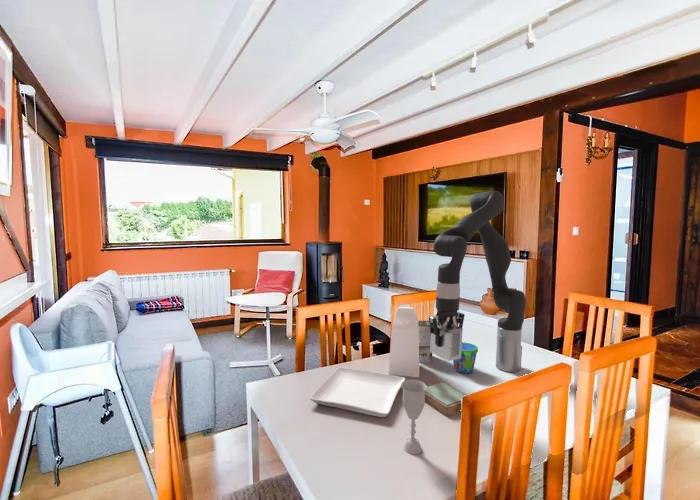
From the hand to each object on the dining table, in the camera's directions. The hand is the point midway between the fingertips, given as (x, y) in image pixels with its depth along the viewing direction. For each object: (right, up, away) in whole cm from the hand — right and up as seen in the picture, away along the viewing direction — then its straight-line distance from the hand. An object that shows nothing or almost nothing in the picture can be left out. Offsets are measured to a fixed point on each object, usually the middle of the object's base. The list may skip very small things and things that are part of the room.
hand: (445, 344), depth 128 cm
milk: (-10, -17, +28) cm, 34 cm away
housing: (0, -4, 0) cm, 4 cm away
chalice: (-15, -23, -23) cm, 36 cm away
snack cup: (+14, -18, +28) cm, 36 cm away
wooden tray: (0, -20, +2) cm, 20 cm away
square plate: (-29, -20, +6) cm, 36 cm away
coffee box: (+1, -16, +40) cm, 43 cm away
